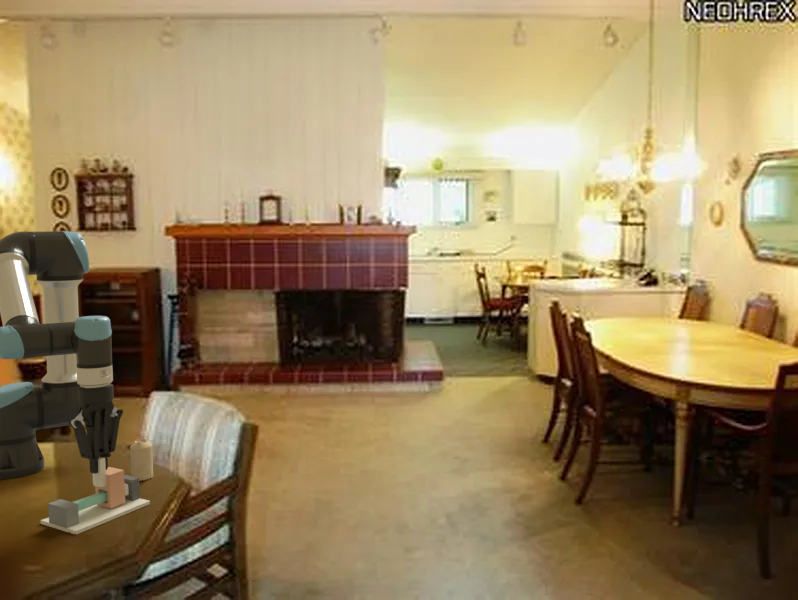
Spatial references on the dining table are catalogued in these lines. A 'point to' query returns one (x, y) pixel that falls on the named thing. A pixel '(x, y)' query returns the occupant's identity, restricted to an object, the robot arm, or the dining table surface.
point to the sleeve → (113, 488)
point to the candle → (141, 459)
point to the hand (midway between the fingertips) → (99, 485)
